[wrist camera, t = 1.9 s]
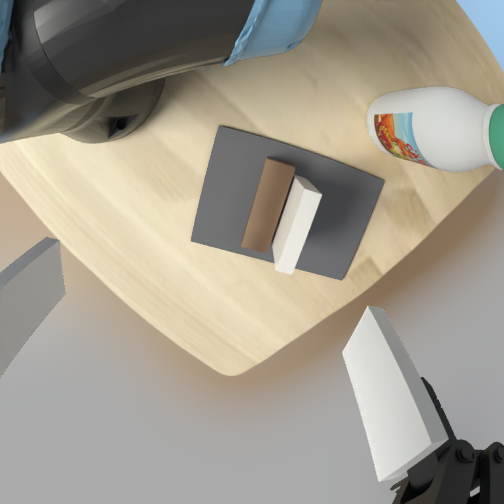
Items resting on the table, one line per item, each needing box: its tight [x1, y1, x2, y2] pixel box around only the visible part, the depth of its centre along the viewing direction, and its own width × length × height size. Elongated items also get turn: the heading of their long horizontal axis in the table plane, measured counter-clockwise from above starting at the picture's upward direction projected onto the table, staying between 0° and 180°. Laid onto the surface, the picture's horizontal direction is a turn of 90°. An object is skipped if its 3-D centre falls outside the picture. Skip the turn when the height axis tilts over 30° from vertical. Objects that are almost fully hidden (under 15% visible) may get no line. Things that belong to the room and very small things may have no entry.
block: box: [241, 157, 295, 254], centre depth 30 cm, size 3×10×2 cm, turn 164°
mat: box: [191, 126, 384, 280], centre depth 32 cm, size 20×14×1 cm
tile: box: [272, 174, 322, 275], centre depth 28 cm, size 2×8×8 cm, turn 164°
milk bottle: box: [366, 86, 504, 172], centre depth 18 cm, size 8×8×20 cm
